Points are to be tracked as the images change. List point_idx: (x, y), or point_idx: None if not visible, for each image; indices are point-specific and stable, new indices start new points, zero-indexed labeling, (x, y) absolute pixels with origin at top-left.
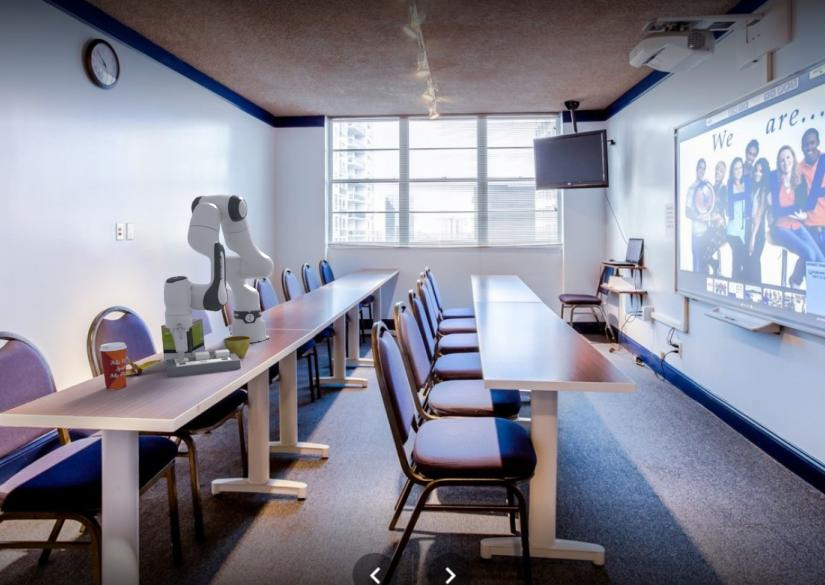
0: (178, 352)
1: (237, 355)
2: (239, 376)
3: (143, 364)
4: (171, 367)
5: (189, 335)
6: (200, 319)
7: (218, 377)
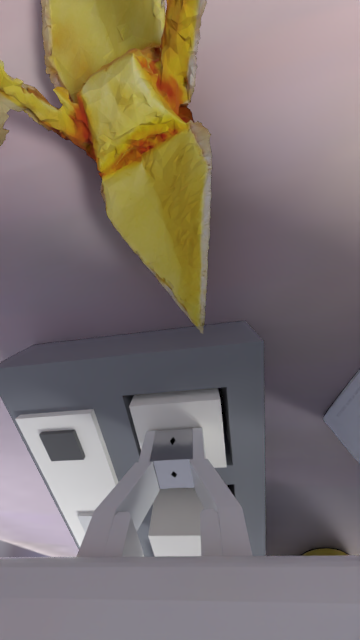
0: (101, 506)
1: None
2: (13, 539)
3: (185, 160)
4: (8, 390)
5: None
6: None
7: (7, 499)
